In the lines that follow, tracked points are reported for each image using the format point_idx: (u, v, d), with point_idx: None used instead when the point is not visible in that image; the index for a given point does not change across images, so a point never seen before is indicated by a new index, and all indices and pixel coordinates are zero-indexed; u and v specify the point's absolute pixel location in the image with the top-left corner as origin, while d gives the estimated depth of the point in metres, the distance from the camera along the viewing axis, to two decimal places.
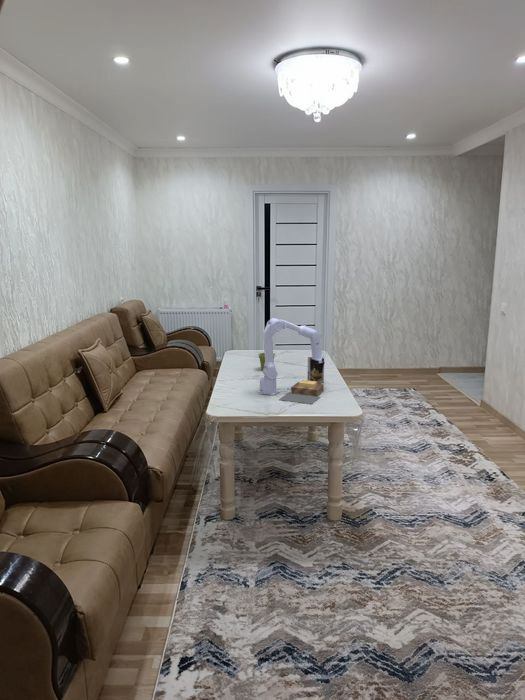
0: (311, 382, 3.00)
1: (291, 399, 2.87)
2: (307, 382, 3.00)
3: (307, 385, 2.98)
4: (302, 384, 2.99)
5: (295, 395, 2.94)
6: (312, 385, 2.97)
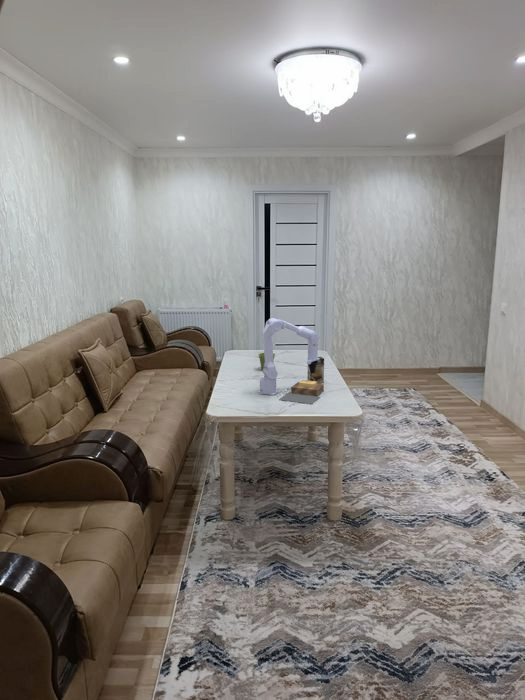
0: (311, 382, 3.00)
1: (291, 399, 2.87)
2: (307, 382, 3.00)
3: (307, 385, 2.98)
4: (302, 384, 2.99)
5: (295, 395, 2.94)
6: (312, 385, 2.97)
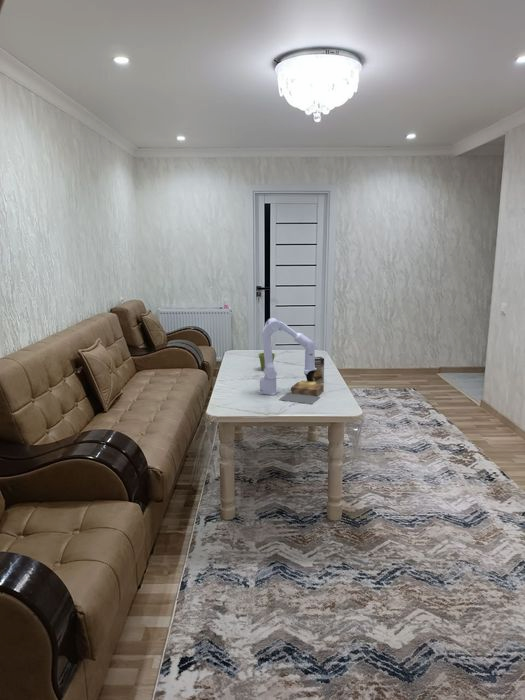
0: (310, 382, 2.99)
1: (291, 399, 2.87)
2: (306, 382, 2.99)
3: (306, 385, 2.97)
4: (301, 385, 2.98)
5: (295, 395, 2.94)
6: (311, 385, 2.96)
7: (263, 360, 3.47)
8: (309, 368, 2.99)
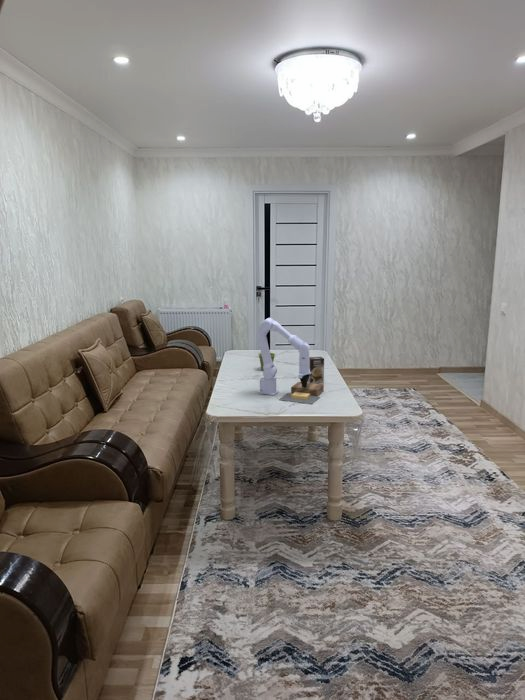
0: None
1: (291, 399, 2.87)
2: None
3: None
4: None
5: None
6: None
7: None
8: (304, 372, 2.91)
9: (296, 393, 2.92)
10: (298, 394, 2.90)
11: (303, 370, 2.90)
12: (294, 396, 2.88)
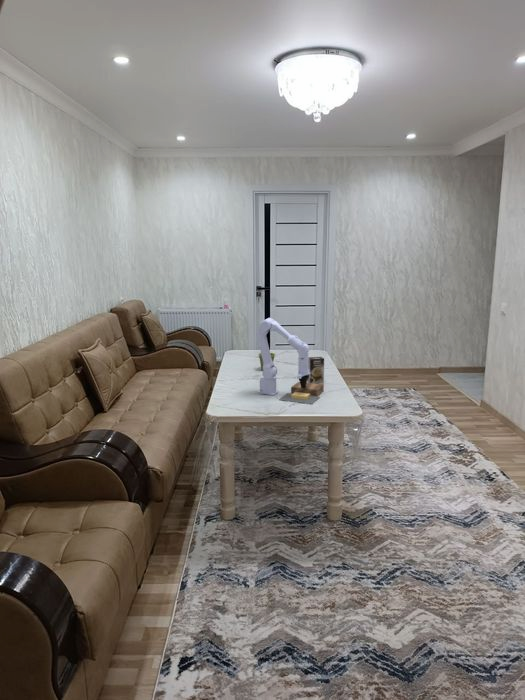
0: None
1: (291, 399, 2.87)
2: None
3: None
4: None
5: None
6: None
7: None
8: (303, 373, 2.89)
9: (296, 393, 2.92)
10: (298, 394, 2.90)
11: (302, 371, 2.89)
12: (294, 396, 2.88)
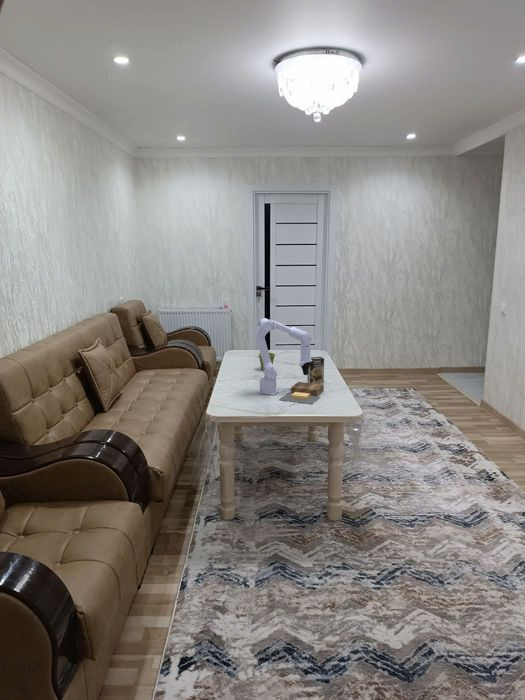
0: None
1: (291, 399, 2.87)
2: None
3: None
4: None
5: None
6: None
7: None
8: (305, 360, 2.99)
9: (296, 393, 2.92)
10: (298, 394, 2.90)
11: (304, 358, 2.99)
12: (294, 396, 2.88)
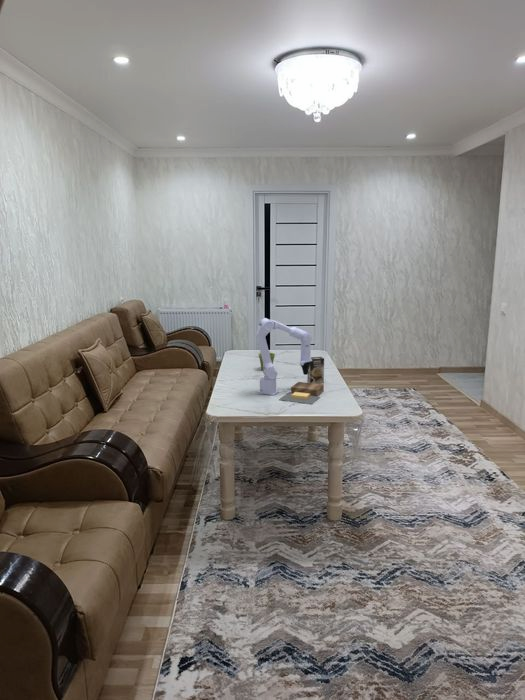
0: None
1: (291, 399, 2.87)
2: None
3: None
4: None
5: None
6: None
7: None
8: (305, 359, 3.00)
9: (296, 393, 2.92)
10: (298, 394, 2.90)
11: (304, 357, 3.00)
12: (294, 396, 2.88)
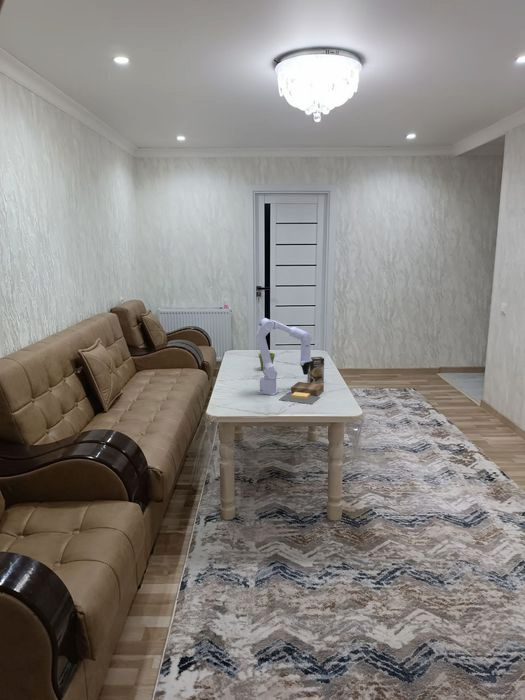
0: None
1: (291, 399, 2.87)
2: None
3: None
4: None
5: None
6: None
7: None
8: (305, 359, 3.00)
9: (296, 393, 2.92)
10: (298, 394, 2.90)
11: (304, 357, 3.00)
12: (294, 396, 2.88)
